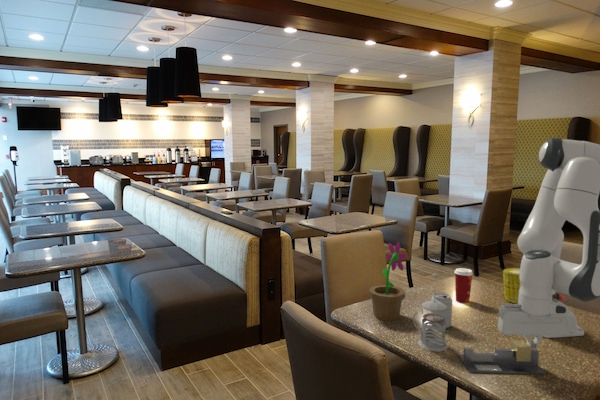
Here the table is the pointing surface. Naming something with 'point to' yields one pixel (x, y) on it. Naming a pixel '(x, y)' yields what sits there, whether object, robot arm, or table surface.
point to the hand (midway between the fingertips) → (532, 347)
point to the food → (511, 284)
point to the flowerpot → (388, 290)
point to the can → (446, 313)
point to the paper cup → (463, 284)
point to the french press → (427, 336)
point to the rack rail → (500, 362)
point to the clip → (521, 350)
